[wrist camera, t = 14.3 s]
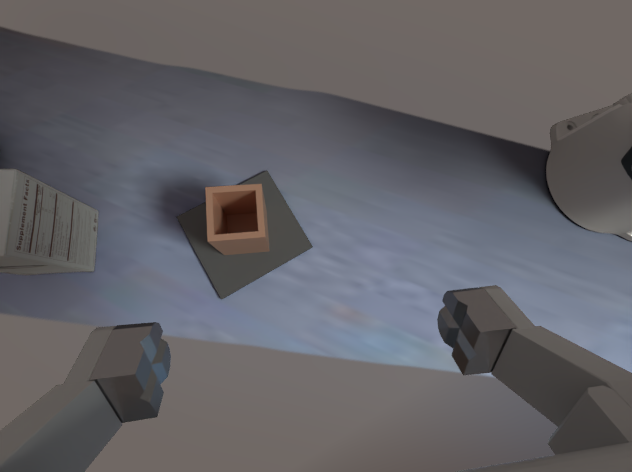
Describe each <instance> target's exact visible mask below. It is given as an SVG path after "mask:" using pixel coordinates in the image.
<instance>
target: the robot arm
mask: <svg viewBox="0 0 632 472" xmlns="http://www.w3.org/2000/svg"><path fill="white" fill-rule="evenodd" d="M550 137H551V151H550V154H549V157H548V160H547V166H546V177H547V183H548V186H549V190H550V192H551V194H552V197H553V199H554V200H555V202H556V204H557V205H558V206H559V208H560V209H561V210H562V211H563V213H564V214H565V215H566V216H568V217H569V218H570V219H571V220H572V221H574V222H575V223H577V224H578V225H580V226H582V227H584V228H586V229H588V230H591V231H595V232H600V233H611V234H617V235H619V236H621V237H623V238H625V239H627V240H629V241H632V93H631V94H629V95H627V96H625V97H624V98H622V99H620V100H619V101H618V102H616V103H614V104H613V105H612V106H608V107H605V108H602V109H599V110H596V111H593V112H589V113H586V114H583V115H580V116H577V117H574V118H571V119H567V120H564V121H561V122H559V123H557V124H555V125H553V126H552V127H551V129H550ZM442 301H443V303H444V304H445V307H444V308H442V309H441V310H440V311H439V315H438V319H437V320H438V329H439V332H440V335H441V337H442V339H443V341H444V342H445V343H446V344H447V345H449V346H450V347H452V348H453V352H452V357H453V358H454V360H455V362H456V364H457V365H458V367H459V369H460V371H461V372H462V374H463V375H471V374H481V373H490V372H492V375H493V376H495V377H496V378H497V379H498V380H500V381H501V382H502V383H504V384H505V385H506V386H507V387H509V388H510V389H511V390H512V391H514V392H515V393H516V394H517V395H519V396H520V397H521V398H522V399H524V400H525V401H526V402H527V403H529V404H530V405H531V406H532V407H534V408H535V409H536V410H537V411H539V412H540V413H541V414H542V415H544V416H545V417H546V418H548V419H549V420H550V421H551V422H553V423H554V424H555V425H556V426H558V428H557V429H556V430H555V432H554V433H553V434H552V436H551V437H550V439H549V442H548V445H549V446H550V448H551V449H552V451H553V452H554V454H555V455H551V456H545V457H539V458H533V459H527V460H521V461H516V462H510V463H504V464H498V465H492V466H487V467H480V468H475V469H468V470H463V471H457V472H632V373H631V372H629V371H627V370H625V369H623V368H621V367H619V366H617V365H615V364H613V363H611V362H609V361H607V360H605V359H603V358H601V357H599V356H598V355H596V354H594V353H592V352H590V351H588V350H586V349H584V348H582V347H580V346H578V345H576V344H574V343H572V342H570V341H568V340H566V339H565V338H563V337H561V336H559V335H557V334H555V333H553V332H551V331H549V330H547V329H545V328H543V327H541V326H534V325H533V323H532V322H531V321H530V320H529V319H528V318H527V317H526V316H525V314H524V313H523V312H522V311H521V310H520V309H519V308H518V307H517V305H516V304H515V303H514V302H513V301H512V300H511V299H510V298H509V297H508V295H507V294H506V293H505V292H504V291H503V290H502V289H501V288H500V287H498V286H496V285H495V286H486V287H479V288H469V289H460V290H452V291H447V292H446V293H445V294H444V297H443V300H442ZM162 333H163V330H162V328H161V326H160V324H159V323H157V322H153V323H141V324H129V325H117V326H109V327H98V328H96V329H95V330H94V331H92V332H91V334H90V336H89V338H88V340H87V342H86V343H85V345H84V347H83V349H82V351H81V353H80V354H79V356H78V358H77V360H76V362H75V364H74V366H73V368H72V369H71V371H70V373H69V375H68V377H67V378H66V380H65V382H64V384H62V385H56V386H55V387H54V388H53V389H51V390H50V391H49V392H48V393H46V394H45V395H44V396H43V397H41V398H40V399H39V400H38V401H36V402H35V403H34V404H33V405H32V406H30V407H29V408H28V409H27V410H25V411H24V412H23V413H22V414H20V415H19V416H18V417H17V418H15V419H14V420H13V421H12V422H11V423H9V424H8V425H7V426H5V427H4V428H3V429H2V430H1V431H0V472H85V470H86V469H87V468H88V467H89V465H90V464H91V463H92V462H93V461H94V459H95V458H96V457H97V456H98V454H99V453H100V452H101V451H102V449H103V448H104V447H105V446H106V444H107V443H108V442H109V441H110V440H111V438H112V437H113V436H114V435H115V433H116V432H117V431H118V430H119V428H120V427H121V426H122V423H125V422H131V421H136V420H143V419H148V418H155V417H157V416H158V412H159V408H160V405H161V401H162V397H163V393H164V392H163V390H162V387H161V383H162V382H163V381H164V380H165V379H166V378H167V377H168V373H169V369H170V358H171V355H170V349H169V346H168V343H167V342H166V341H164V340H163V339H161V336H162Z"/></svg>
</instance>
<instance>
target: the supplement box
mask: <svg viewBox="0 0 632 472" xmlns="http://www.w3.org/2000/svg"><path fill="white" fill-rule="evenodd" d="M97 229H98V210H96V209H94V208H92V207H90V206H88V205H86V204H84V203H82V202H80V201H78V200H76V199H74V198H72V197H70V196H68V195H66V194H64V193H62V192H60V191H58V190H56V189H54V188H52V187H50V186H49V185H47V184H45V183H43V182H41V181H39V180H37V179H35V178H33V177H31V176H29V175H27V174H25V173H23V172H21V171H19V170H17V169H0V272H1V273H9V274H18V275H34V274H46V273H66V272H94V268H95V257H96V244H97Z"/></svg>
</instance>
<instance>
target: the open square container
mask: <svg viewBox="0 0 632 472" xmlns="http://www.w3.org/2000/svg"><path fill="white" fill-rule="evenodd" d="M205 189H206V215H207V240H208V242H209V243H210V244H211V245H212V246H213V247H215V248H216V249H217V250H218V251H220V252H221V253H222V254H223V255H234V254H245V253H257V252H269V251H270V250H269V237H268V224H267V210H266V204H265V199H264V194H263V189H262V184H250V185H234V186H218V187H205Z"/></svg>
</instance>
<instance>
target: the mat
mask: <svg viewBox="0 0 632 472" xmlns="http://www.w3.org/2000/svg"><path fill="white" fill-rule="evenodd" d="M250 184H262V189H263V194H264V199H265V204H266V210H267V224H268V237H269V250H270V251H269V252H257V253H245V254H234V255H223V254H222V253H221V252H220V251H218V250H217V249H216V248H215V247H213V246H212V245H211V244H210V243H209V242H208V240H207V215H206V202H205V203H203V204H201V205H199V206H197V207H195V208H193V209H191V210H189V211H187V212H185V213H183V214H181V215H179V216H177V219H178V221H179V222H180V224H181V226H182V228H183V230H184V232H185V233H186V235H187V237H188V239H189V241H190V243H191V244H192V246H193V248H194V250H195V252H196V254H197V256H198V257H199V259H200V261H201V263H202V265H203V267H204V268H205V270H206V272H207V274H208V276H209V278H210V279H211V281H212V283H213V285H214V287H215V289H216V291H217V292H218V294H219V296H220V298H221V299H223V298H225V297H227V296H229V295H230V294H232V293H234V292H236V291H237V290H239V289H241V288H242V287H244V286H246V285H248V284H249V283H251V282H253V281H255V280H256V279H258V278H260V277H262V276H263V275H265V274H267V273H269V272H270V271H272V270H274V269H275V268H277V267H279V266H281V265H282V264H284V263H286V262H288V261H289V260H291V259H293V258H295V257H296V256H298V255H300V254H302V253H303V252H305V251H307V250H309V249H310V248H312V245H311V243H310V241H309V240H308V238H307V236H306V235H305V233H304V231H303V230H302V228H301V226H300V225H299V223H298V221H297V220H296V218H295V216H294V215H293V213H292V211H291V210H290V208H289V206H288V205H287V203H286V201H285V200H284V198H283V196H282V195H281V193H280V191H279V190H278V188H277V186H276V185H275V183H274V181H273V179H272V178H271V176H270V174H269V173H268V171H265V172H263V173H261V174H259V175H257V176H255V177H253V178H251V179H249V180H248V181H246V182H244V183H242V184H240V185H250Z"/></svg>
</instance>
